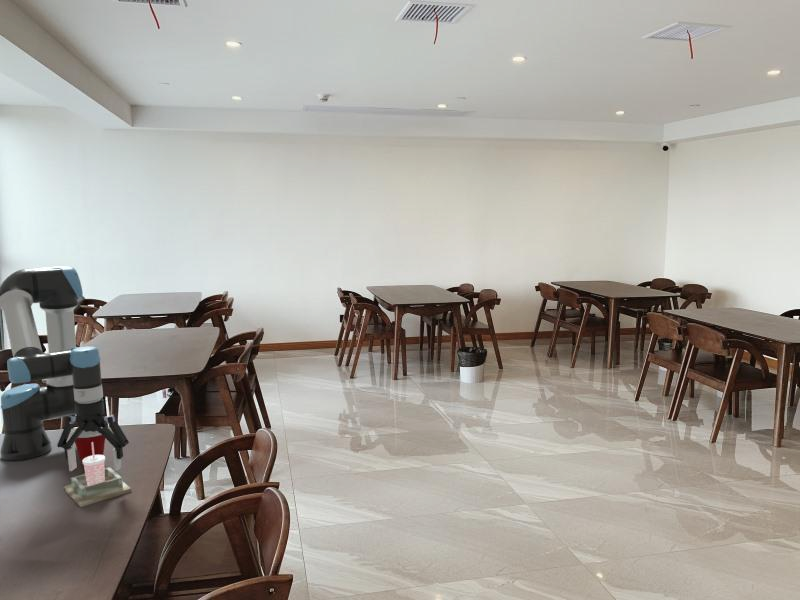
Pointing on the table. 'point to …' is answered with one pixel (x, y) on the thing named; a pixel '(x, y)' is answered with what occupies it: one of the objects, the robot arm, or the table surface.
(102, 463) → the beverage cup
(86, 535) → the table surface
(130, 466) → the table surface
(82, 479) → the cup stand
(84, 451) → the plastic cup
